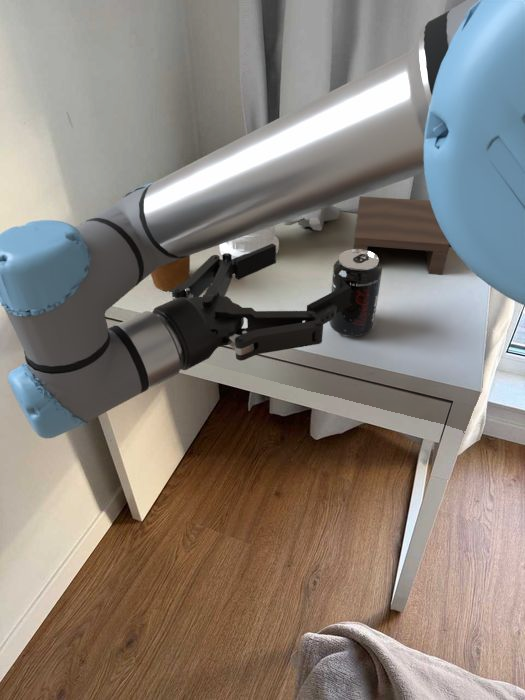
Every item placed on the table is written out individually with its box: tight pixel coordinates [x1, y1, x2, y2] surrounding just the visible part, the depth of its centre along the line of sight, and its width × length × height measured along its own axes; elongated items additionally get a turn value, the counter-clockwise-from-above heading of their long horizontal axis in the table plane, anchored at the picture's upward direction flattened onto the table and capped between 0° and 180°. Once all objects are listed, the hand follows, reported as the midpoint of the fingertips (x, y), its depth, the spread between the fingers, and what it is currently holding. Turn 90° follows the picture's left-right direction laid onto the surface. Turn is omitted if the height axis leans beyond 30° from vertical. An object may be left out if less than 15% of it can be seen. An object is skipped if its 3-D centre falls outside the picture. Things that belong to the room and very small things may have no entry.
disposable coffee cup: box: [150, 255, 191, 292], centre depth 84 cm, size 10×10×12 cm
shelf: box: [352, 195, 451, 276], centre depth 94 cm, size 18×16×6 cm
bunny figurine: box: [283, 204, 341, 231], centre depth 103 cm, size 10×5×15 cm
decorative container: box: [218, 225, 280, 259], centre depth 91 cm, size 12×12×18 cm
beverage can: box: [329, 248, 383, 337], centre depth 73 cm, size 7×7×12 cm
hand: (308, 272), depth 64 cm, fingers open, 13 cm apart
